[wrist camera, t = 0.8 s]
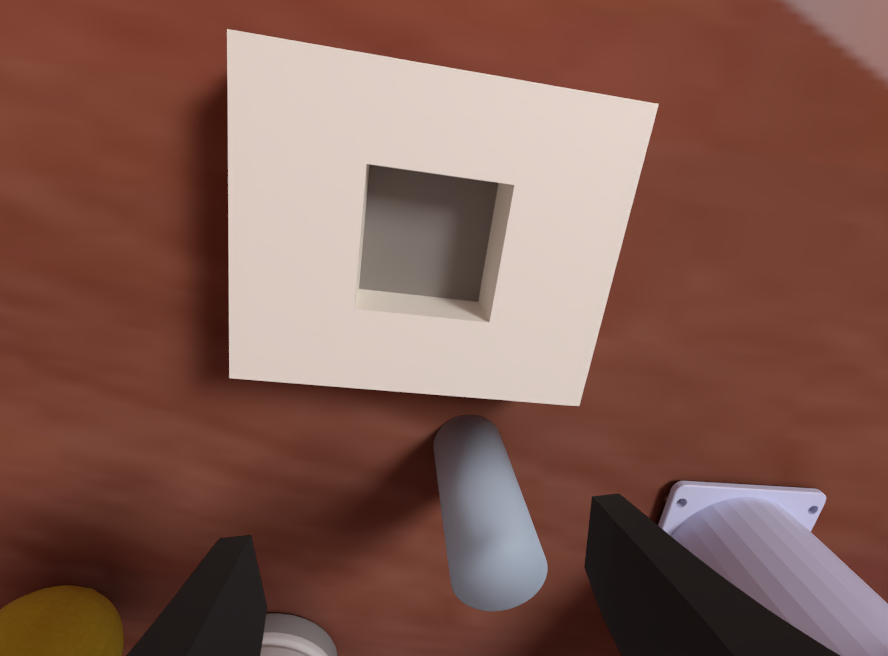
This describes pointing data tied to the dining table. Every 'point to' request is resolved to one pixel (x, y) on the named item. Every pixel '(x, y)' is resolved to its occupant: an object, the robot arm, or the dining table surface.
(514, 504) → the dowel
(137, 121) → the dining table surface
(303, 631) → the travel mug
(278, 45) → the bore block
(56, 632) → the lemon
